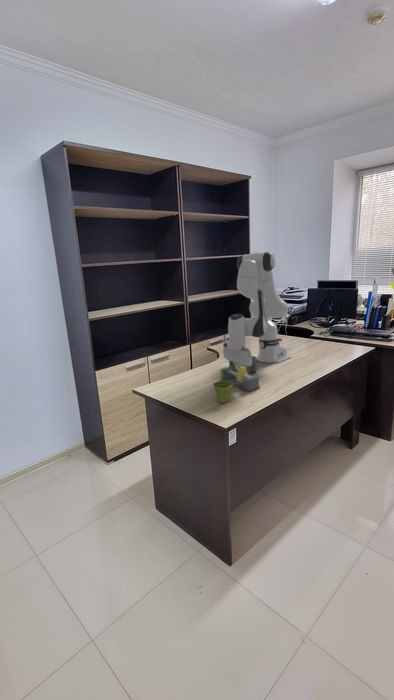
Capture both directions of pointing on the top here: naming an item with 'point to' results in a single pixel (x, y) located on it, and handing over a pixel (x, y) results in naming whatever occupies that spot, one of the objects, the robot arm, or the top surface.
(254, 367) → the digital clock
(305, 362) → the top surface
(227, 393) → the plant pot
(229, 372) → the grey rectangular frame
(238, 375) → the yellow stepped block
